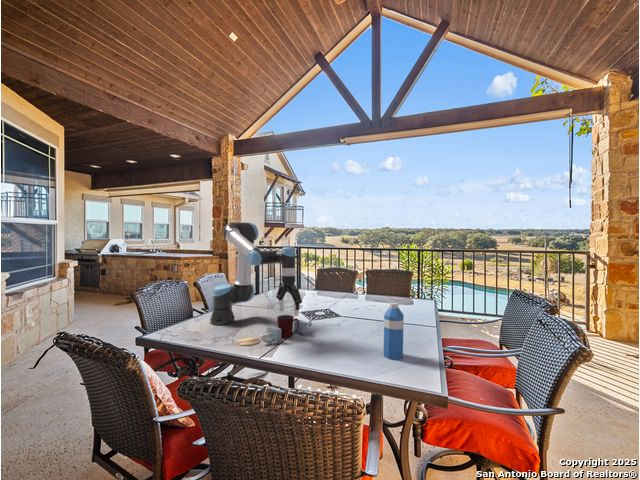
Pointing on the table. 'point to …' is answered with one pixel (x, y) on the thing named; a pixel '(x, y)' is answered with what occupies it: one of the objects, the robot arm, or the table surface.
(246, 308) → the table surface
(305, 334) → the vise
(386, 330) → the water bottle
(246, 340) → the coaster
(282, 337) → the mug
